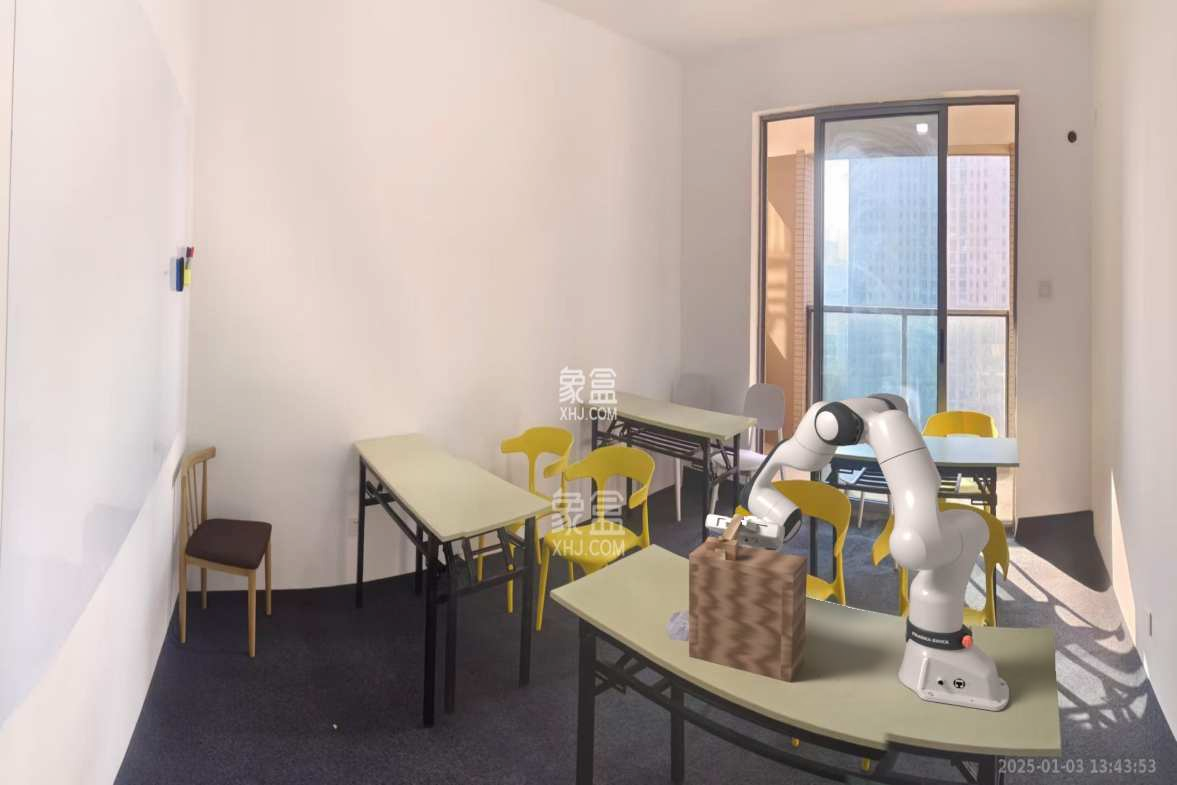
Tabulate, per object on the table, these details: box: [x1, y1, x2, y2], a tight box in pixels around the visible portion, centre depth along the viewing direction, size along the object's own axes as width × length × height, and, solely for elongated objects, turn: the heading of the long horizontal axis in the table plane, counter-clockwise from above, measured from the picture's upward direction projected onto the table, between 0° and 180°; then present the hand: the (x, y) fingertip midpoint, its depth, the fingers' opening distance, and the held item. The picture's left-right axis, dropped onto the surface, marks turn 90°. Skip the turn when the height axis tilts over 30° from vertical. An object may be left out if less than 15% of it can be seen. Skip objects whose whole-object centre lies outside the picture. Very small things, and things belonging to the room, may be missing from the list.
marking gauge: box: [705, 513, 745, 561], centre depth 190 cm, size 7×20×5 cm, turn 157°
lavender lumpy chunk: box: [666, 609, 689, 642], centre depth 203 cm, size 12×5×10 cm
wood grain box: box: [688, 540, 808, 683], centre depth 186 cm, size 25×11×26 cm, turn 59°
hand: (736, 521), depth 196 cm, fingers closed on marking gauge, 3 cm apart
